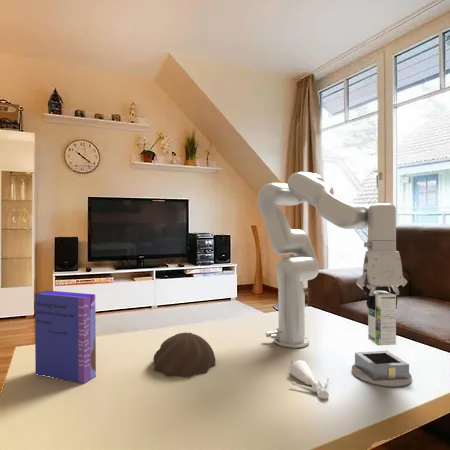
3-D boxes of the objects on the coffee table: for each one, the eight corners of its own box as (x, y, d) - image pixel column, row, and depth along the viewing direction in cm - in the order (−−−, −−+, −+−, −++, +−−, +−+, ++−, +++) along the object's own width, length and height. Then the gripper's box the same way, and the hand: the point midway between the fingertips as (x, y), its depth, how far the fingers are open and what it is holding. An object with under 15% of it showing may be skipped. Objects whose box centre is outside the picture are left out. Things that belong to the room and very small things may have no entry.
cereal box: (95, 376, 103) (95, 293, 103) (84, 383, 98) (83, 297, 98) (48, 368, 109) (47, 289, 108) (35, 374, 104) (34, 292, 104)
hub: (369, 389, 95) (370, 371, 95) (342, 365, 111) (342, 349, 111) (424, 385, 97) (424, 367, 97) (389, 362, 113) (389, 347, 113)
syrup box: (367, 339, 106) (367, 290, 106) (386, 338, 107) (386, 290, 107) (377, 345, 101) (376, 294, 100) (397, 345, 101) (396, 294, 101)
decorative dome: (226, 359, 116) (226, 328, 116) (192, 383, 99) (192, 348, 99) (177, 349, 125) (177, 320, 125) (139, 370, 108) (139, 337, 108)
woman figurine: (313, 354, 108) (347, 385, 91) (312, 368, 108) (346, 402, 91) (277, 358, 105) (305, 390, 88) (276, 372, 106) (304, 408, 88)
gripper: (360, 247, 99) (360, 312, 99) (417, 246, 101) (417, 310, 101) (347, 245, 106) (347, 306, 106) (401, 245, 108) (401, 304, 109)
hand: (381, 307), depth 104 cm, fingers closed on syrup box, 5 cm apart
